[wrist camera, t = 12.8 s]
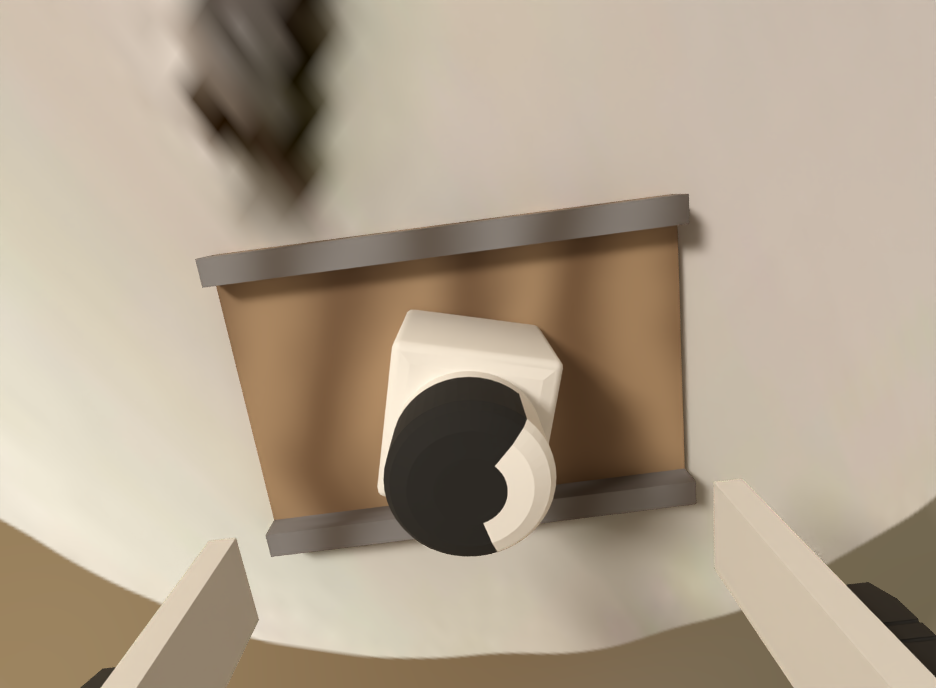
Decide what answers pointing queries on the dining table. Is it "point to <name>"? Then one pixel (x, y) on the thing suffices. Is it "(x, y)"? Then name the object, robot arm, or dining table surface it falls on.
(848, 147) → the dining table surface
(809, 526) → the dining table surface
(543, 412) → the medicine bottle
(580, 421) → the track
